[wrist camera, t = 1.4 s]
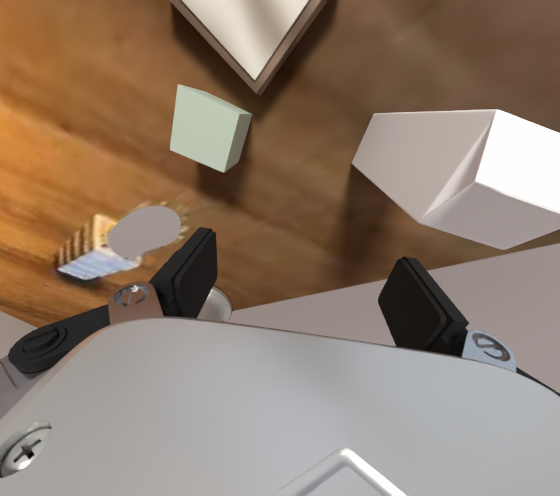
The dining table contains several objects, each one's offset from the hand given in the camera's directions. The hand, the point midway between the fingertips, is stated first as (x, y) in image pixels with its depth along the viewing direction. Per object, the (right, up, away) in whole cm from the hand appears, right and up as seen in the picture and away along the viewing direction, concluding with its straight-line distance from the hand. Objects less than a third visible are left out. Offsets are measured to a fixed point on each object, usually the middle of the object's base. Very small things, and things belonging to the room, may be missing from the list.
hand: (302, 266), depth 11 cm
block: (-8, +16, +17) cm, 25 cm away
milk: (+12, +14, +16) cm, 25 cm away
